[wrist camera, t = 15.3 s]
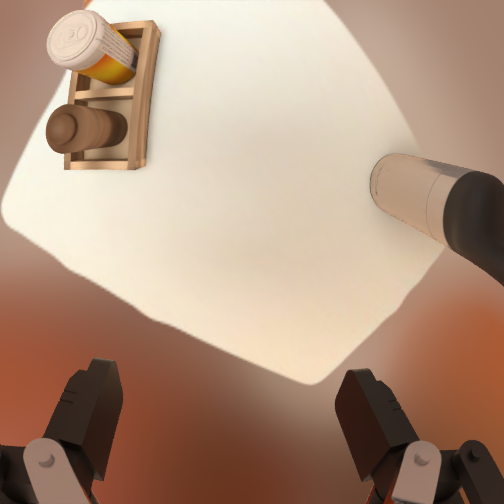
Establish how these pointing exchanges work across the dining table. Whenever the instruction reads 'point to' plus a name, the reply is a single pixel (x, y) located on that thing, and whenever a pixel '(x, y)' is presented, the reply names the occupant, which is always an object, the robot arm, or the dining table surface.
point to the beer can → (92, 48)
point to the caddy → (108, 111)
